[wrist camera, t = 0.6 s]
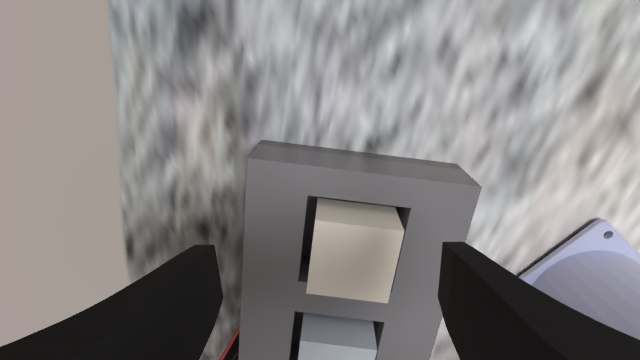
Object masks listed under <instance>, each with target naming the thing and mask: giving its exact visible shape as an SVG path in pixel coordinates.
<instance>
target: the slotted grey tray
mask: <svg viewBox="0 0 640 360" xmlns="http://www.w3.org/2000/svg"><path fill="white" fill-rule="evenodd" d="M481 188H482V187H481V186H480V185H479V184H478V183H477V182H476V181H475V180H474V179H473V178H471V177H470V176H469V175H468V174H467V173H466V172H465V171H464V170H463V169H462V168H460V167H459V166H458V165H457V164H452V163H444V162H436V161H428V160H420V159H412V158H404V157H395V156H387V155H379V154H371V153H363V152H355V151H347V150H339V149H331V148H323V147H314V146H306V145H298V144H290V143H282V142H274V141H266V140H262V141H261V142H260V143H259V144H258V145H257V147H256V148H255V149H254V150H253V151H252V153H251V154H250V155H249V156H248V157H247V169H246V192H245V216H244V240H243V263H242V287H241V310H240V334H239V357H238V360H298V354H299V346H300V338H301V330H302V322H303V314H304V312H305V313H313V314H321V315H329V316H337V317H346V318H354V319H362V320H370V321H373V324H374V331H375V338H376V345H377V353H376V357H375V360H429V358H430V355H431V352H432V349H433V345H434V342H435V339H436V335H437V332H438V329H439V326H440V322H441V319H442V316H443V314H442V311H441V307H440V304H439V300H438V287H439V276H440V265H441V254H442V244H443V242H465V240H466V237H467V234H468V230H469V227H470V224H471V221H472V217H473V214H474V211H475V208H476V204H477V201H478V198H479V194H480V191H481ZM318 198H323V199H331V200H339V201H347V202H355V203H364V204H372V205H380V206H388V207H395V208H396V211H397V213H398V216H399V218H400V221H401V224H402V226H403V229H404V235H403V240H402V244H401V248H400V253H399V257H398V261H397V266H396V270H395V274H394V279H393V283H392V287H391V292H390V296H389V301H388V303H380V302H372V301H363V300H355V299H347V298H339V297H331V296H323V295H315V294H306V289H307V281H308V273H309V264H310V256H311V248H312V240H313V232H314V224H315V216H316V208H317V200H318Z"/></svg>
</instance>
